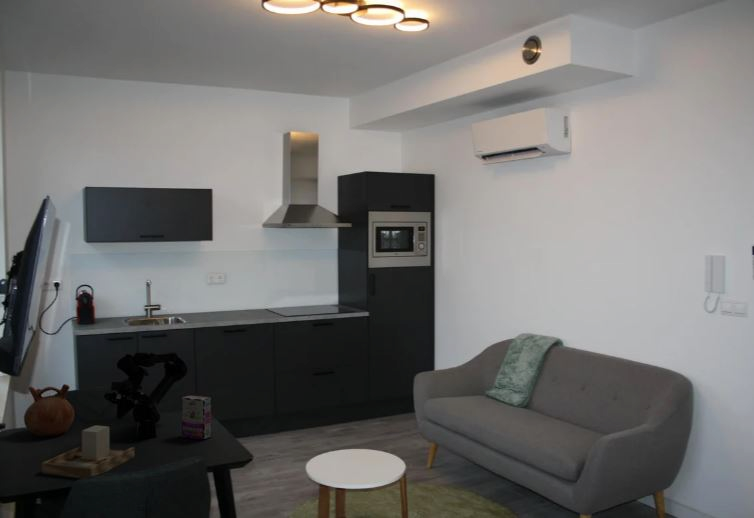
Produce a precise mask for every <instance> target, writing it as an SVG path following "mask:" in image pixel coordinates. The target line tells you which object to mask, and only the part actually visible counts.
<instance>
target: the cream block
mask: <svg viewBox="0 0 754 518" xmlns="http://www.w3.org/2000/svg"><path fill="white" fill-rule="evenodd" d="M81 445H82V459H90V460H98V459H100V458H102V457H104V456H106V455H108V454H110V449H111V448H110V426H105V425H93V426H90V427H88V428H85V429H83V430H81Z"/></svg>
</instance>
